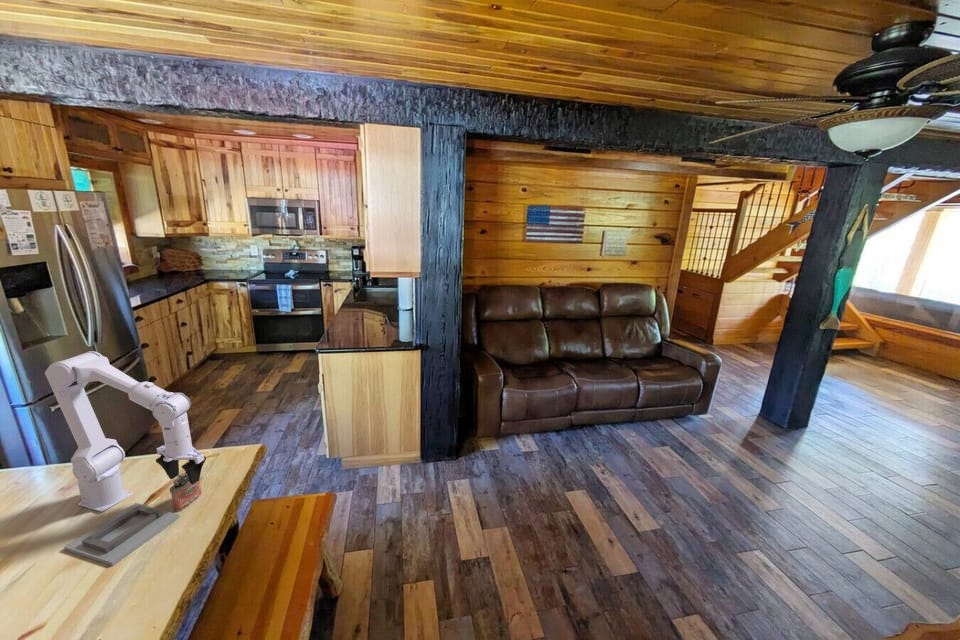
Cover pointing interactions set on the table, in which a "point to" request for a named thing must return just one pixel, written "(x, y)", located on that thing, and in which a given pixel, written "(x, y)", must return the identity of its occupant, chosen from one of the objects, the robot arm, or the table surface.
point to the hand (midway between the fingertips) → (184, 479)
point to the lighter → (184, 492)
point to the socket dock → (122, 534)
